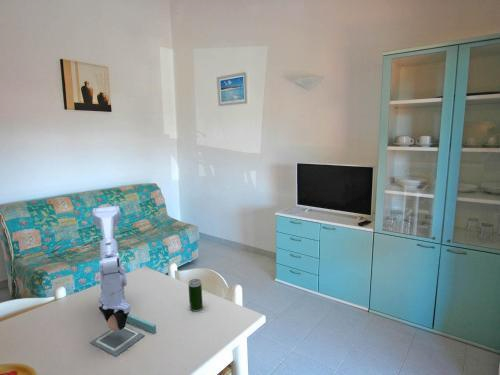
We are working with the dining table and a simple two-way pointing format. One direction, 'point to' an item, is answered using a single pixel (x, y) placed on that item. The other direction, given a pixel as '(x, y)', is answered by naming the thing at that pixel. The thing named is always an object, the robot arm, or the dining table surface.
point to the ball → (112, 323)
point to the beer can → (195, 294)
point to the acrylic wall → (141, 323)
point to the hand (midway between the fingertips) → (116, 325)
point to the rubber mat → (117, 340)
